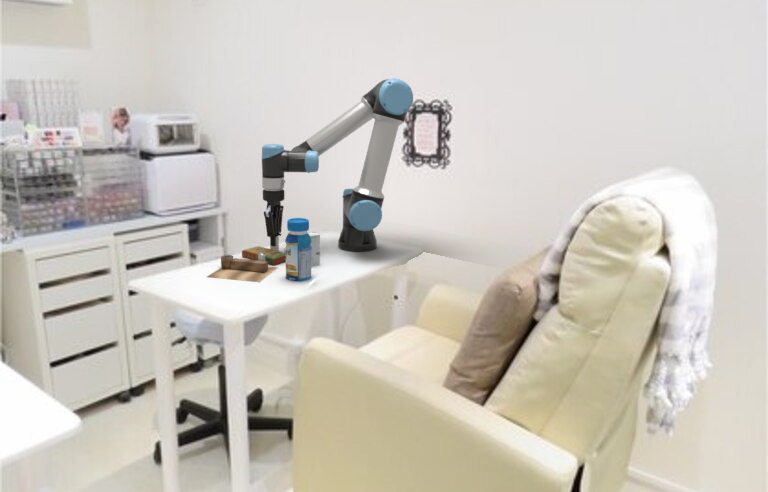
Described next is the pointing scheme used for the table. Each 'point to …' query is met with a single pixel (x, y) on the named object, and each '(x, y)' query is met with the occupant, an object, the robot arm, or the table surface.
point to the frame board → (241, 274)
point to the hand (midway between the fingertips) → (274, 253)
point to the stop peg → (261, 257)
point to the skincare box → (315, 249)
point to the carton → (270, 255)
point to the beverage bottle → (298, 250)
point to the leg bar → (243, 264)
